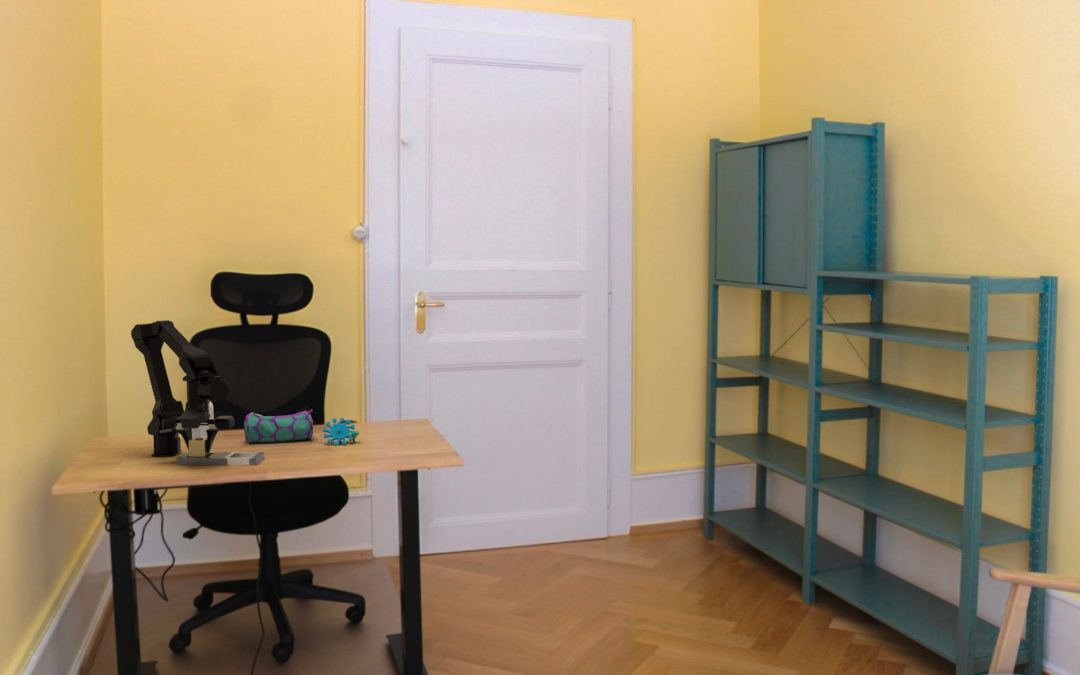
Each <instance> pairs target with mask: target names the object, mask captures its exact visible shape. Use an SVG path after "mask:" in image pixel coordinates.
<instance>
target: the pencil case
mask: <svg viewBox="0 0 1080 675" xmlns="http://www.w3.org/2000/svg"><path fill="white" fill-rule="evenodd" d="M312 413H313V409H310V410H309V411H308V410H303V411H300V412H296V413H293V414H287V415H275V416H274V415H273V416H272V415H267V416H264V415H262V414H258V413H254V411H253V412H249V413H248V414H246V416H245V418H244V422H243V423H244V424H243V431H244V432H243V434H244V437H245V441H246V443H247V444H255V443H258V444H260V443H261V444H262V443H284V442H285V443H286V442H294V441H302V440H312V438H313V436H314V420H313V418H312V415H311V414H312Z"/></svg>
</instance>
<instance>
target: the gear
mask: <svg viewBox="0 0 1080 675" xmlns="http://www.w3.org/2000/svg"><path fill="white" fill-rule="evenodd" d="M331 420H332V421H331V422H332V423H333V425H331V422H330V421H327V422H326V423H325V426H326V427H323V429H322V432H323V439H327V442H328V444H330V445H331V444H332V442H334V446H336V445H338V446H339V444H340V442H341V444H342V445H343V446H344V445H345V446H346V445H347V440H346V439H348V442H353V441H355V442H356V439H357V436H360V431H359V430H356V429H355V427H356V425H355V424H352V422H351V420H350V419H347V420H346V421H345V418H344V417H340V418H339V421H338V422H337V418H335V417H334V418H332V419H331ZM328 428H329V429H328Z"/></svg>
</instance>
